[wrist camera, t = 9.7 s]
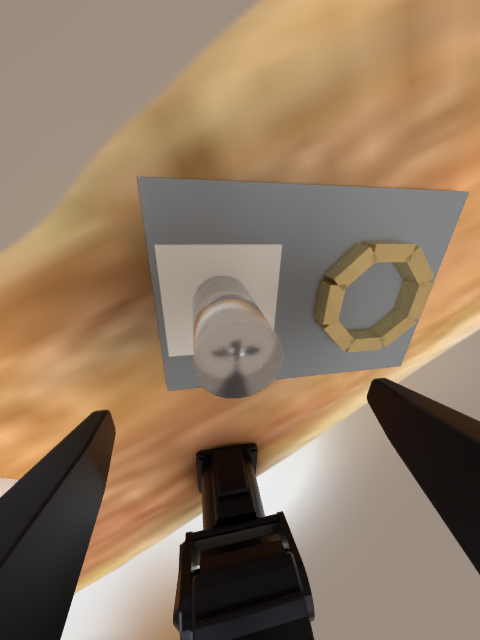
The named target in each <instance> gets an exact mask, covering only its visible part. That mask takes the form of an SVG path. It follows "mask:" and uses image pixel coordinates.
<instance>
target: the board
mask: <svg viewBox="0 0 480 640" xmlns="http://www.w3.org/2000/svg"><path fill="white" fill-rule="evenodd" d="M137 182H138V189H139V196H140V203H141V210H142V217H143V224H144V231H145V238H146V245H147V252H148V258H149V265H150V272H151V279H152V286H153V293H154V300H155V307H156V314H157V321H158V328H159V335H160V342H161V349H162V356H163V363H164V370H165V377H166V384H167V391H171V390H181V389H190V388H199V387H202V386H201V385H200V383H199V382H198V380H197V378H196V376H195V373H194V368H193V355H184V356H172V357H169V354H168V346H167V338H166V330H165V323H164V315H163V307H162V300H161V292H160V284H159V276H158V269H157V261H156V253H155V246H154V245H155V244H282V252H281V262H280V272H279V283H278V293H277V303H276V313H275V324H274V331H275V333H276V335H277V336H278V338H279V339H280V341H281V343H282V345H283V349H284V361H283V365H282V368H281V370H280V372H279V374H278V376H277V377H276V378H275V379H284V378H294V377H303V376H313V375H322V374H332V373H341V372H351V371H360V370H369V369H379V368H388V367H398V366H401V364H402V361H403V359H404V356H405V354H406V351H407V349H408V346H409V344H410V341H411V339H412V336H413V333H414V331H415V328H416V326H417V323H418V321H419V318H417V319H414V320H415V322H416V324H415V325H413V326H412V327H411V328H409V329H408V330H407V331H406V332H404V333H403V334H402V335H401V336H399V337H398V338H397V339H396V340H394V341H393V342H392V343H391V344H389V345H388V346H387V347H384V346H383V345H382V347H381V350H371V351H360V352H349V353H348V352H347V351H346V350H345V351H343V350H342V349H341V348H340V347H339V346H338V345H337V344H336V343H335V342H334V341H333V340H332V339H331V338H330V337H329V336H328V335H327V334H326V333H325V332H324V330H323V329H322V328H321V327H320V326H319V325H318V324H317V323H316V322H315V320H316V318H315V317H314V311H315V305H316V299H317V294H318V288H319V282H320V279H327V278H326V277H325V276H324V274H323V273H324V272H326V271H327V270H328V269H329V268H330V267H331V266H332V265H333V264H334V263H335V262H336V261H338V260H339V259H340V258H341V257H342V256H343V255H344V254H345V253H346V252H347V251H348V250H350V249H351V248H352V247H353V246H354V245H355V244H361V243H362V241H402V242H408V243H413V244H416V245H415V246H420V247H421V249H422V251H423V253H424V255H425V257H426V260H427V262H428V264H429V266H430V268H431V270H432V272H433V274H434V277H433V278H432V279H431V280H430V281H434V280H435V277H436V275H437V272H438V270H439V267H440V265H441V262H442V260H443V257H444V255H445V252H446V249H447V247H448V244H449V242H450V239H451V237H452V234H453V232H454V229H455V227H456V224H457V221H458V219H459V216H460V214H461V211H462V209H463V206H464V204H465V201H466V199H467V196H468V193H469V192H464V191H442V190H419V189H397V188H375V187H353V186H331V185H309V184H287V183H264V182H242V181H220V180H198V179H176V178H154V177H137ZM402 282H403V279H402V277H401V275H400V273H399V272H398V270H397V268H396V266H395V265H394V263H393V262H378V263H374V264H373V265H372V266H371V267H369V268H368V269H367V270H366V271H365V272H364V273H363V274H362V275H360V276H359V277H358V278H357V279H356V280H355V281H354V282H352V283H351V284H350V285H349V286H348V287H347V288H346V290H345V294H344V298H343V303H342V307H341V312H340V316H339V320H338V321H339V322H340V323H341V324H342V326H343V327H344V328H345V329H346V330H357V329H370V328H371V327H372V326H373V325H375V324H376V323H377V322H378V321H379V320H381V319H382V318H383V317H384V316H385V315H387V314H388V313H389V312H390V311H392V310H393V309H394V306H395V303H396V300H397V297H398V294H399V291H400V288H401V285H402Z"/></svg>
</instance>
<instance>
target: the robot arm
mask: <svg viewBox="0 0 480 640" xmlns="http://www.w3.org/2000/svg"><path fill="white" fill-rule="evenodd" d="M367 401H368V403H369V405H370V406H371V408H372V410H373V412H374V414H375V416H376V417H377V419H378V421H379V423H380V425H381V426H382V428H383V430H384V432H385V434H386V435H387V437H388V439H389V440H390V442H391V444H392V445H393V447H394V448H395V449H396V451H397V453H398V454H399V456H400V457H401V459H402V460H403V462H404V463H405V465H406V466H407V468H408V469H409V470H410V472H411V473H412V475H413V476H414V478H415V479H416V481H417V482H418V484H419V485H420V487H421V488H422V490H423V491H424V493H425V494H426V496H427V497H428V499H429V500H430V502H431V503H432V505H433V506H434V508H435V509H436V511H437V512H438V514H439V515H440V516H441V518H442V520H443V521H444V522H445V524H446V525H447V527H448V528H449V530H450V531H451V533H452V534H453V536H454V537H455V539H456V540H457V542H458V543H459V545H460V546H461V548H462V549H463V551H464V552H465V554H466V555H467V557H468V558H469V560H470V561H471V562H472V564H473V565H474V567H475V568H476V570H477V571H478V573H479V574H480V421H478V420H476V419H473V418H471V417H469V416H467V415H464V414H462V413H460V412H458V411H456V410H454V409H451V408H449V407H447V406H445V405H443V404H440V403H438V402H436V401H434V400H432V399H430V398H427V397H425V396H423V395H421V394H419V393H417V392H414V391H412V390H410V389H408V388H406V387H404V386H401V385H399V384H397V383H395V382H393V381H391V380H388V379H386V378H378V379H374V380H373V381H372V382H371V385H370V388H369V391H368V394H367ZM114 440H115V426H114V423H113V419H112V416H111V413H110V411H109V410H100V411H94V412H93V413H91V414H90V415H89V416H88V417H87V418H86V419H85V420H84V421H83V422H81V423H80V424H79V425H78V426H77V427H76V428H75V429H74V430H73V431H72V432H71V433H70V434H68V435H67V436H66V437H65V438H64V439H63V440H62V441H61V442H60V443H59V444H58V445H56V446H55V447H54V448H53V449H52V450H51V451H50V452H49V453H48V454H47V455H46V456H45V457H43V458H42V459H41V460H40V461H39V462H38V463H37V464H36V465H35V466H34V467H33V468H32V469H30V470H29V471H28V472H27V473H26V474H25V475H24V476H23V477H22V478H21V479H20V480H19V481H17V482H16V483H15V484H14V485H13V486H12V487H11V488H10V489H9V490H8V491H7V492H5V493H4V494H3V495H2V496H1V497H0V640H60V639H61V636H62V632H63V629H64V626H65V622H66V619H67V615H68V612H69V609H70V606H71V602H72V599H73V596H74V592H75V589H76V585H77V582H78V579H79V575H80V572H81V569H82V565H83V562H84V559H85V555H86V552H87V549H88V545H89V542H90V539H91V535H92V532H93V529H94V525H95V522H96V519H97V515H98V512H99V509H100V505H101V502H102V498H103V495H104V491H105V487H106V482H107V477H108V471H109V466H110V461H111V456H112V450H113V445H114ZM257 452H258V449H257V445H256V444H249V445H243V446H236V447H230V448H223V449H217V450H210V451H204V452H199V453H197V454H196V464H197V475H198V486H199V492H200V493H202V509H203V530H202V531H198V532H194V533H192V532H187V533H186V539H185V542H184V543H183V544H181V545H180V555H179V574H178V583H177V590H176V597H175V605H174V613H173V625H174V626H175V628H176V629H177V630H178V631H179V633H180V640H314V637H313V632H312V628H311V623H310V622H311V621H313V620H314V605H313V599H312V594H311V589H310V585H309V582H308V578H307V574H306V571H305V567H304V565H303V562H302V559H301V557H300V554H299V552H298V549H297V547H296V544H295V542H294V539H293V536H292V534H291V531H290V528H289V526H288V523H287V521H286V518H285V516H284V513H283V511H282V512H277V514H274V515H269V516H265V515H264V510H263V506H262V502H261V498H260V493H259V489H258V484H257V481H256V476H255V475H256V464H257ZM198 565H200V569H197V566H198Z"/></svg>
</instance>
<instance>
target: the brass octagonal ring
mask: <svg viewBox="0 0 480 640" xmlns="http://www.w3.org/2000/svg"><path fill="white" fill-rule="evenodd" d="M415 245H416V244H413V243H408V242H402V241H362V243H361V244H355V245H354V246H353V247H352V248H351V249H350V250H348V251H347V252H346V253H345V254H344V255H343V256H342V257H341V258H340V259H339V260H338V261H336V262H335V263H334V264H333V265H332V266H331V267H330V268H329V269H328V270H327V271H326V272H324V273H323V274H324V276H325V277H326V278H327V279H320V282H319V288H318V294H317V299H316V305H315V311H314V317H315V318H316V320H315V322H316V323H317V324H318V325H319V326H320V327H321V328H322V329H323V330H324V332H325V333H326V334H327V335H328V336H329V337H330V338H331V339H332V340H333V341H334V342H335V343H336V344H337V345H338V346H339V347H340V348H341V349H342V350H343V351H345V350H346V351H347V352H348V353H349V352H360V351H371V350H381V347H382V345H383V346H384V347H387V346H388V345H389V344H391V343H392V342H393V341H394V340H396V339H397V338H398V337H399V336H401V335H402V334H403V333H404V332H406V331H407V330H408V329H409V328H411V327H412V326H413V325H415V324H416V322H415V320H414V319H417V318H420V317H421V314H422V312H423V309H424V307H425V304H426V302H427V299H428V297H429V294H430V292H431V289H432V287H433V284H434V281H430V280H431V279H432V278H433V277H434V274H433V272H432V270H431V268H430V266H429V264H428V262H427V260H426V257H425V255H424V253H423V251H422V249H421V247H420V246H415ZM378 262H393V263H394V265H395V266H396V268H397V270H398V272H399V273H400V275H401V277H402V279H403V282H402V285H401V288H400V291H399V294H398V297H397V300H396V303H395V306H394V309H393V310H392V311H390V312H389V313H388V314H387V315H385V316H384V317H383V318H382V319H381V320H379V321H378V322H377V323H376V324H375V325H373V326H372V327H371V328H370V329H357V330H346V329H345V328H344V327H343V326H342V324H341V323H340V322H339V321H338V320H339V316H340V312H341V307H342V303H343V298H344V294H345V290H346V288H347V287H348V286H349V285H350V284H351V283H352V282H354V281H355V280H356V279H357V278H358V277H359V276H360V275H362V274H363V273H364V272H365V271H366V270H367V269H368V268H369V267H371V266H372V265H373V264H374V263H378Z"/></svg>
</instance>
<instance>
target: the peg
mask: <svg viewBox="0 0 480 640" xmlns="http://www.w3.org/2000/svg"><path fill="white" fill-rule="evenodd" d="M283 361H284V349H283V345H282V343H281V341H280V339H279V338H278V336H277V335H276V333H275V331H274V330H273V328H272V327H271V325H270V324H269V322H268V321H267V319H266V318H265V316H264V315H263V313H262V312H261V310H260V309H259V307H258V306H257V304H256V303H255V301H254V300H253V298H252V296H251V295H250V293H249V292H248V290H247V289H246V287H245V286H244V285H243V284H242V283H241V282H240V281H238V280H237V279H235V278H233V277H229V276H216V277H212V278H210V279H208V280H206V281H205V282H203V283H202V284H201V285H200V286H199V287H198V289H197V290H196V292H195V294H194V298H193V368H194V373H195V376H196V378H197V380H198V382H199V383H200V385H201V386H202V387H203V388H204V389H206V390H207V391H208V392H210V393H212V394H214V395H216V396H219V397H224V398H242V397H247V396H250V395H253V394H256V393H258V392H260V391H261V390H263V389H265V388H266V387H267V386H269V385H270V384H271V383H272V382H273V381H274V380H275V378H276V377H277V376H278V374H279V372H280V370H281V368H282V365H283Z"/></svg>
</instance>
